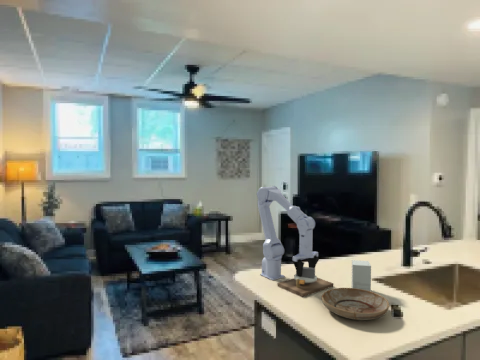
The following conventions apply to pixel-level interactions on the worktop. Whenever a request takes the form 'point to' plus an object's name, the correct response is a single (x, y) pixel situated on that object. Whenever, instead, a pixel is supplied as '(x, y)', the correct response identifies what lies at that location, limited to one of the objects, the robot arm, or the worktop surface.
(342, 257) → the worktop surface
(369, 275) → the supplement box
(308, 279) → the flange disc
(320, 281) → the walnut base
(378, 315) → the ceramic bowl
